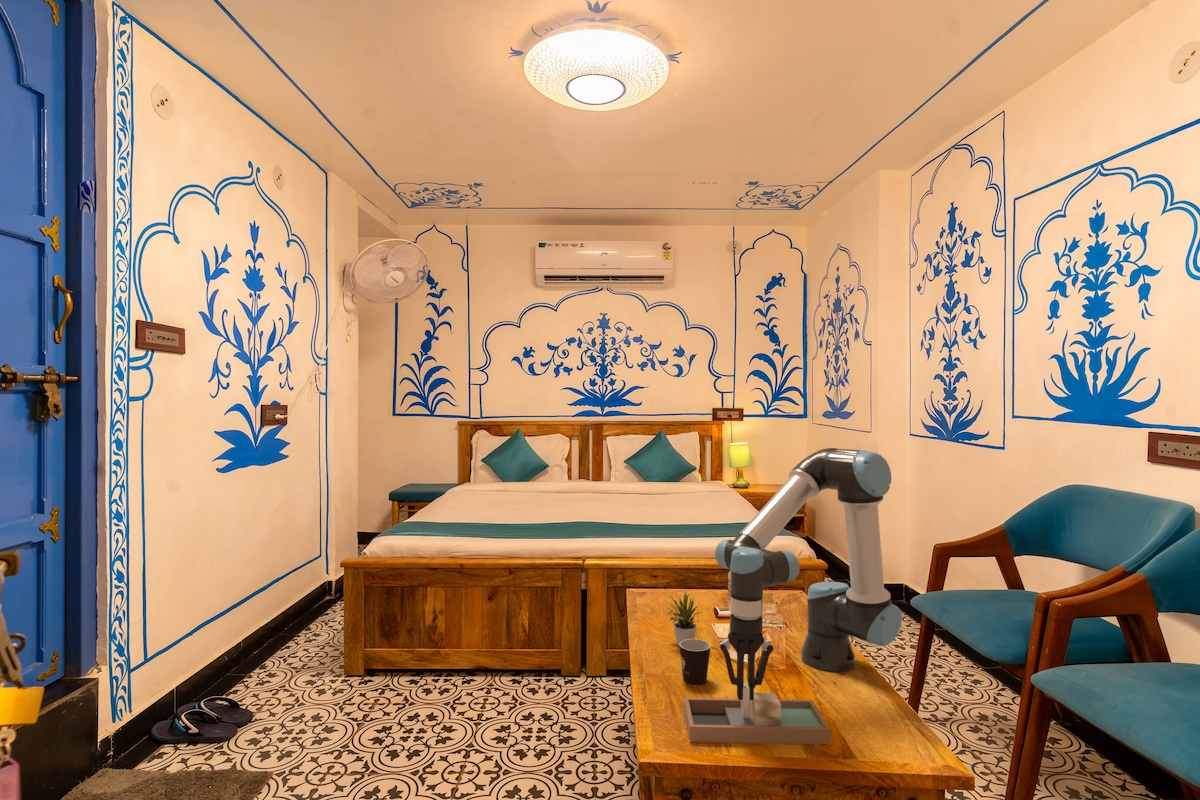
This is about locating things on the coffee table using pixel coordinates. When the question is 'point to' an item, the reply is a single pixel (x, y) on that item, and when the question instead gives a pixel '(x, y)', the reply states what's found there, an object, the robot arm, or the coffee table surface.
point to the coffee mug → (694, 660)
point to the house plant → (684, 619)
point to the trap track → (731, 726)
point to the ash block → (765, 709)
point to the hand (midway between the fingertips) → (745, 712)
